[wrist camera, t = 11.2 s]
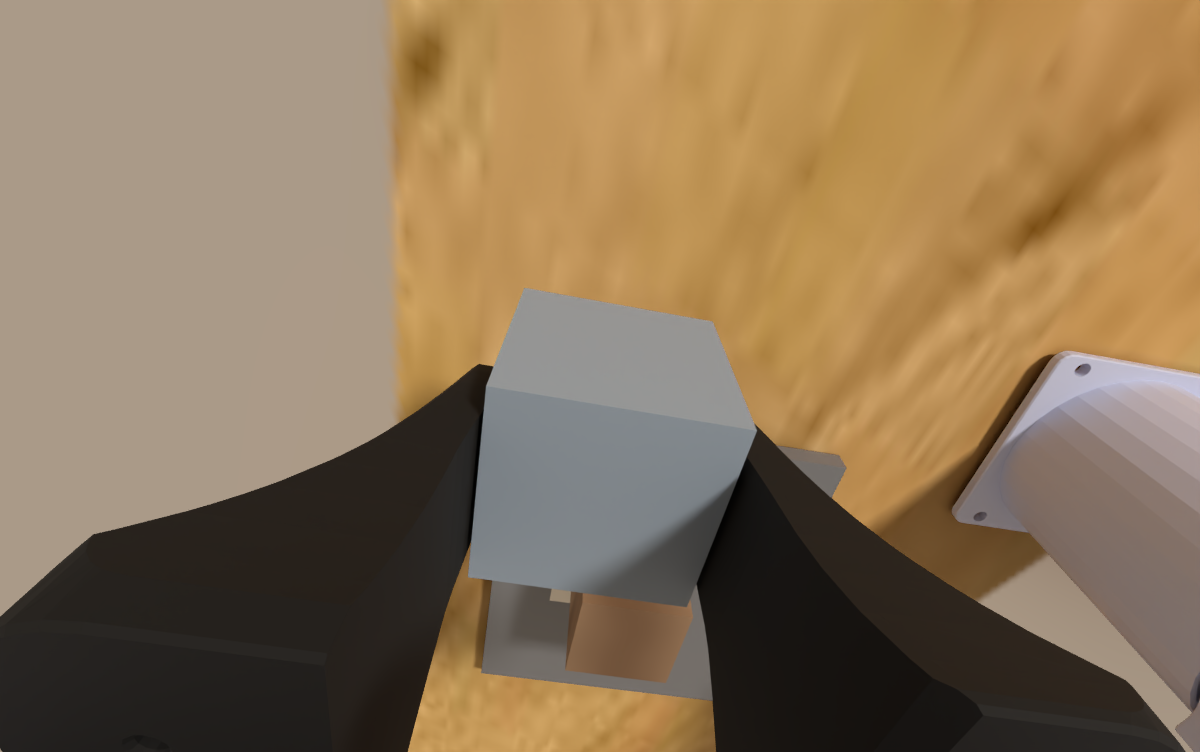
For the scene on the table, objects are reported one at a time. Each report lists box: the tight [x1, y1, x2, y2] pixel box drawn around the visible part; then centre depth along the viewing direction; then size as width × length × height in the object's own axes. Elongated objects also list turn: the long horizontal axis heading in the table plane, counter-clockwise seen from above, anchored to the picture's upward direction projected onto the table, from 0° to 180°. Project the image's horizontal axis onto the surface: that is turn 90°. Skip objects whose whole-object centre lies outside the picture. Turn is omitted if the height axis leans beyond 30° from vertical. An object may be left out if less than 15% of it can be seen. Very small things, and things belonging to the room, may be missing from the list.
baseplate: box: [481, 446, 846, 701], centre depth 25 cm, size 13×16×1 cm
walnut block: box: [565, 591, 693, 683], centre depth 22 cm, size 4×4×4 cm
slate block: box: [468, 288, 757, 607], centre depth 11 cm, size 4×4×4 cm
